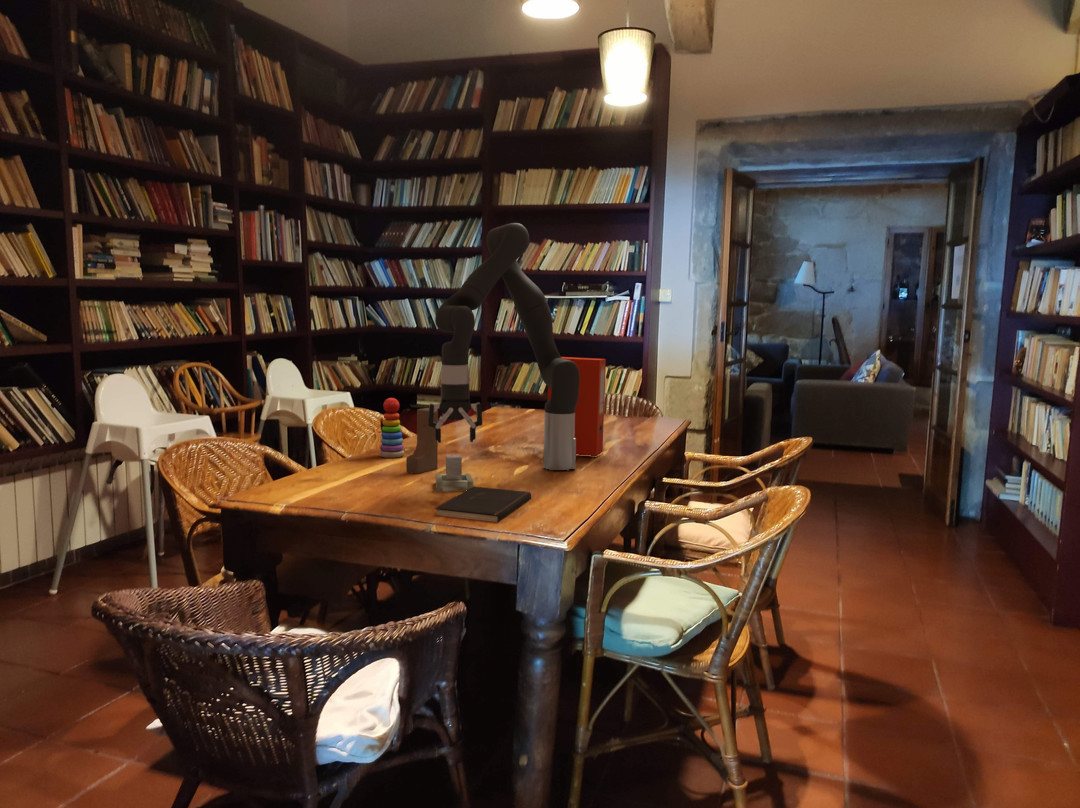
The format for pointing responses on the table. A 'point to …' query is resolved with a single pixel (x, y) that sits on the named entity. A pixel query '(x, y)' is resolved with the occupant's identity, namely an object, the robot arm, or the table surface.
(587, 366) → the file binder
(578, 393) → the robot arm
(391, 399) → the stacking toy
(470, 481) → the grey shallow square tray
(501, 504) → the hardcover book
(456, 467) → the gray rectangular block
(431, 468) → the wooden block
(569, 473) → the table surface
